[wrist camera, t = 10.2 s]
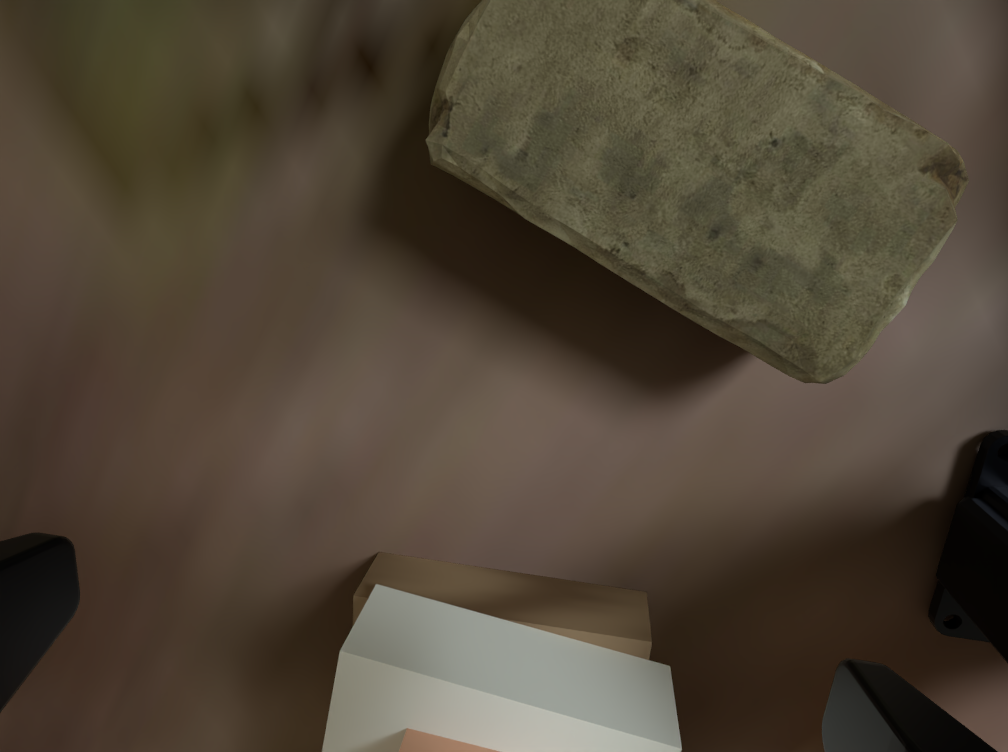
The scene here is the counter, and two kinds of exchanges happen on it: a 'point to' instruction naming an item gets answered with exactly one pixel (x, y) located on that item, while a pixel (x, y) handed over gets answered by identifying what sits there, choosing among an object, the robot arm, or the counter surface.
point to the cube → (435, 743)
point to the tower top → (490, 685)
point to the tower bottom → (521, 600)
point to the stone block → (701, 167)
